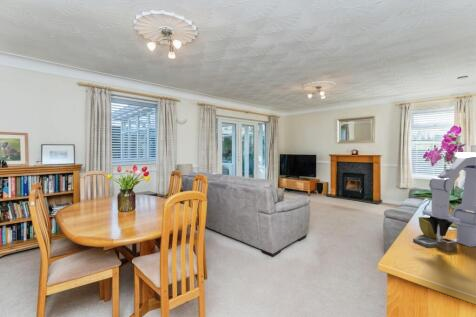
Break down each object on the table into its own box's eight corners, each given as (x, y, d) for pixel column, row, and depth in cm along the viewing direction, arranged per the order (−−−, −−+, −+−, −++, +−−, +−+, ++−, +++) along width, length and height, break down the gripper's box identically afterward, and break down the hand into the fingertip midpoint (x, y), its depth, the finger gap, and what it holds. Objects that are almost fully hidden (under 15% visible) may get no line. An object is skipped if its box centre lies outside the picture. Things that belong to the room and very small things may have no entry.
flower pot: (447, 240, 114) (448, 222, 113) (427, 239, 115) (427, 221, 115) (436, 234, 122) (436, 217, 122) (417, 233, 124) (417, 216, 124)
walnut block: (444, 245, 107) (445, 237, 107) (456, 250, 103) (457, 241, 102) (436, 246, 107) (436, 238, 106) (447, 251, 102) (448, 242, 101)
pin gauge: (438, 240, 103) (439, 222, 103) (443, 242, 101) (444, 224, 101) (435, 240, 103) (435, 223, 102) (439, 242, 101) (440, 224, 100)
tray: (426, 239, 115) (426, 237, 114) (441, 245, 108) (441, 242, 108) (413, 241, 113) (413, 238, 113) (427, 247, 106) (427, 244, 106)
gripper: (417, 201, 107) (416, 229, 108) (451, 209, 93) (450, 242, 94) (429, 200, 109) (428, 228, 109) (464, 208, 94) (463, 240, 95)
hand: (439, 234), depth 102 cm, fingers closed on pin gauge, 2 cm apart
